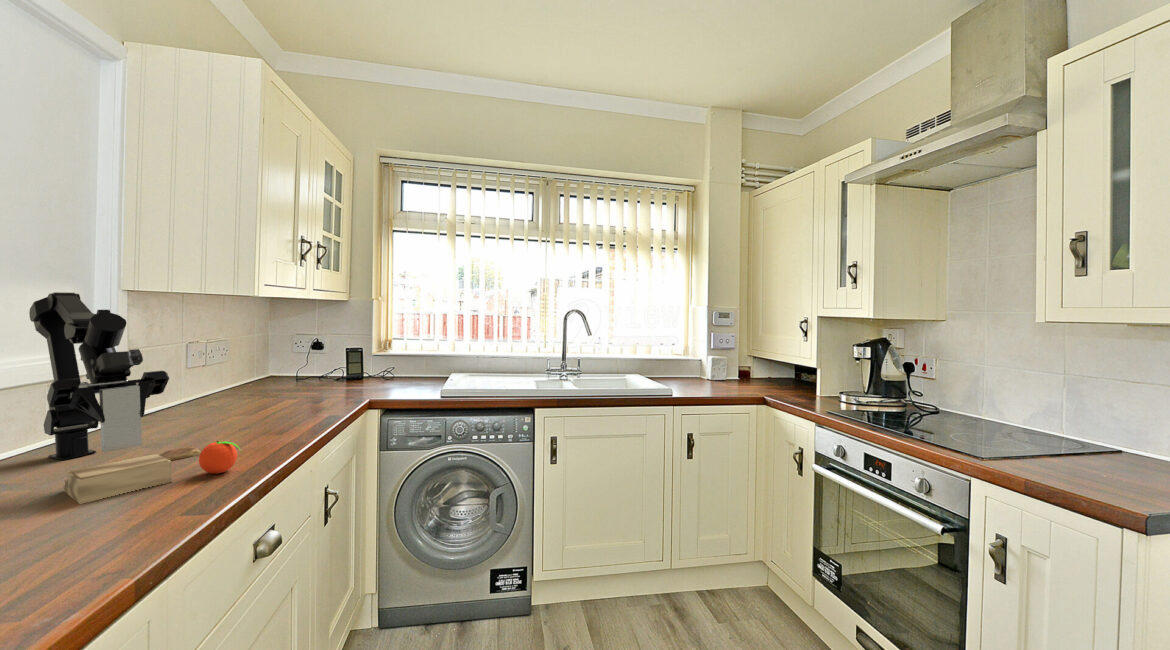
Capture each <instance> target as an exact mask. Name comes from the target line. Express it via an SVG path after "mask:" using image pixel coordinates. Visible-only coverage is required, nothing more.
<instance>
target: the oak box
mask: <svg viewBox="0 0 1170 650" xmlns="http://www.w3.org/2000/svg"><path fill="white" fill-rule="evenodd" d="M160 455H161V454H157V453H153V454H148V455H143V456H138V457H133V458H127V459H123V460H118V461H113V462H108V463H102V464H98V465H93V466H88V467H83V468H78V469H72V470H70V471H67V478H66V479H64V484H63V492H64V493H65V494H67V495H68V496H69V497H70V498H71V499H73V500H74V501H75V502H76V503H77V504H78V505H82V504H86V503H90V502H95V501H98V500H103V498H104V499H107V497H108V498H111V496H112V497H114V496H115V495H116V496H120V495H124V494H123V493H125V494H128V493H127V492H129V493H132V492H131V491H133V492H136V491H135V490H137V491H140V490H139V489H141V490H143V489H142V488H145V489H149V488H148V487H150V488H153V487H152V486H154V487H157V485H158V486H162V485H166V484H170V483H169V482H171V483H173V474H172V473H173V472H172V471H173V470H172V461H170V460H168V459H166V458H164V457H162V456H160ZM161 484H162V485H161ZM119 494H120V495H119ZM116 496H115V497H116Z"/></svg>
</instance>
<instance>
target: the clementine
mask: <svg viewBox="0 0 1170 650" xmlns="http://www.w3.org/2000/svg"><path fill="white" fill-rule="evenodd" d="M236 448H238V450H239V451H240V452H242V450H241V448H240V447H239V446H238V444H236V443H234V442H231V441H224V440H223V441H221V440H217V441H215V442H211V443H209V444H208V445H206V446H205V447H203V449H202V450H200V452H201V453H200V455H198V456H199V457H198V464H199V466H200V468H201V469H202V470H203V471H204V472H207V473H209V474H215V475H216V474H217V475H218V474H222V473H225V472H226V471H229V470H230V469H232V467H234V465H235V464H236V462H237V460H238V451H237V449H236Z"/></svg>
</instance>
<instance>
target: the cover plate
mask: <svg viewBox="0 0 1170 650" xmlns="http://www.w3.org/2000/svg"><path fill="white" fill-rule="evenodd" d="M99 405H100V407H101V409H102V411H103V414H104V417H105V421H104V423H101V422H100V438H101V439H100V441H101V442H100V443H101V452H102V453H105V454H106V453H109V452H115V451H121V450H125V449H131V448H137V447H141V446H143V443H142V419H141V418H142V417H141V412H140V386H137V385H134V386H125V387H116V388H107V389H99Z"/></svg>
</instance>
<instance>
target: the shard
mask: <svg viewBox="0 0 1170 650" xmlns="http://www.w3.org/2000/svg"><path fill="white" fill-rule="evenodd" d="M200 453H201V450H199V449H198V448H197V447H195V446H192V445H188V446H184V447H180V448H174V449H170V450H167V451H165V452H163V453H161V454H159V455H160V456H162V457H164V458H166V459H168V460H170V461H171V460H172V461H175V459H176V460H181V459H185V458H191V457H196V456H199V455H200ZM172 461H171V462H172Z"/></svg>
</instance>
